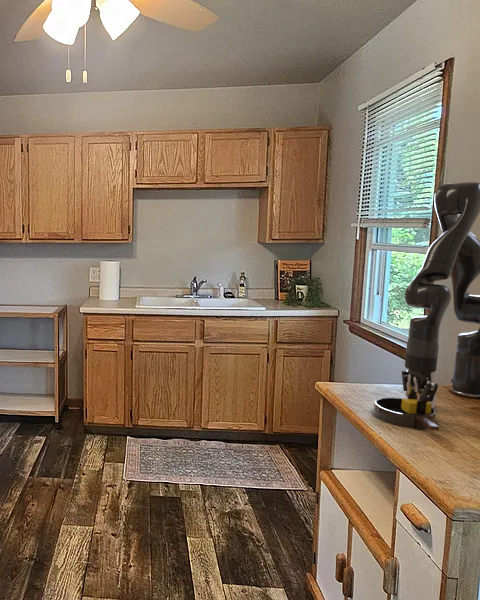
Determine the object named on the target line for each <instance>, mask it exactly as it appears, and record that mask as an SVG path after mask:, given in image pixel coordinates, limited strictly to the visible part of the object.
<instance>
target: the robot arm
mask: <svg viewBox="0 0 480 600" xmlns="http://www.w3.org/2000/svg"><path fill="white" fill-rule="evenodd" d="M434 209H435V212H436V215H437V218H438V222H439V225H440V229H441V231H442V234H441V235H440V236H439V237H438V238H437V239H435V240H434V241H433V242H432V244H431V245H430V247H429V248H428V250H427V252H426V255H425V258H424V260H423V262H422V266H421V268H420V270H419V271H418V272H417V274H416V275H415V277H414V278H413V279H412V281H411V282H410V283H409V284H408V285H407V288H406V289H405V292H404V301H405V303H406V304H407V305H408V306H410V307H411V308H416V309H417V308H418V309H426V310H430V312H429V313H428V314H427V315H417V316H413V317H411V318H410V321H409V327H408V337H407V340H406V347H405V350H406V351H405V357H404V358H405V359H404V367H405V368H406V369H407V370H402V371H401V380H402V389H403V391H404V392H405V394H406V393H407V395H408V399H417V400H418V401H417V408H416V413H418V414H425V413H426V404H427V402H432V401H433V399H434V396H435V393H436V394H437V391H438V388H439V384H438V383H437V384H436V383H433V382H432V381H431V380H432V378H431V373H432V372H435V371H436V367H437V368H438V358H439V357H438V356H439V347H440V346H439V337H440V330H441V329H440V328H441V323H442V320H443V318H444V316H445V313H446V311H447V309H448V307H449V305H450V302H451V300H453V303H452V304H453V312H454V316H455V318H456V319H457V321H459V322H463V323H468V324H475V325H480V295H476V294H470V292H469V288H470V287H471V285H472V284H473V282H474V281H475V280H476V279H477V278H478V277H479V276H480V240H479V238H478V237H477V236H475V234H473V233H472V232H471V230H472V228H473V227H474V224H475V222H476V220H477V219H478V217H479V216H480V182H479V181H468V182H466V181H465V182H451V183H442V184H440V185H439V186H438V187H437V188H436V190H435V192H434ZM449 278H450V280H451V287H452V291H451V290H450V289H449V287H448V286H447V285H443V284H438V283H437V284H436V283H435V284H433V283H434V282H439V281H445V280H448V279H449ZM451 292H452V293H451ZM455 345H456V346H455V356H454V365H453V374H452V378H451V380H450V383H451V389H450V391H451V393H453V394H454V395H458V396H461V397H465V398H471V399H480V326H479V327H478V329H475V330H472V331H466V332H464V331H463V332H460V333H458V334H457V337H456V344H455ZM408 369H409V370H408ZM407 378H408V379H407ZM419 389H424V390H419ZM421 393H423V395H422V397H421ZM416 395H417V396H416ZM429 395H430V396H429Z"/></svg>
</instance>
